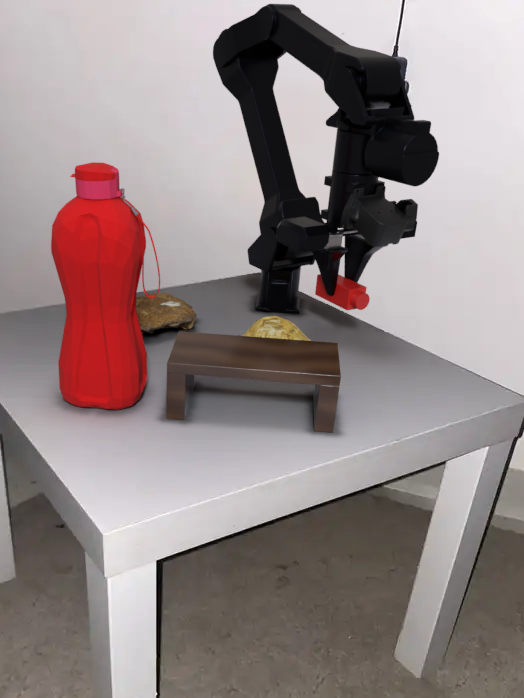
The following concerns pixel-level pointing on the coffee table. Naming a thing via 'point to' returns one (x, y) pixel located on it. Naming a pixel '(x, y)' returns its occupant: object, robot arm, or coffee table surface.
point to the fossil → (275, 329)
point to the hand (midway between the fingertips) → (339, 293)
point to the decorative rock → (163, 312)
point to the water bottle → (100, 291)
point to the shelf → (254, 368)
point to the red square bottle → (344, 293)
